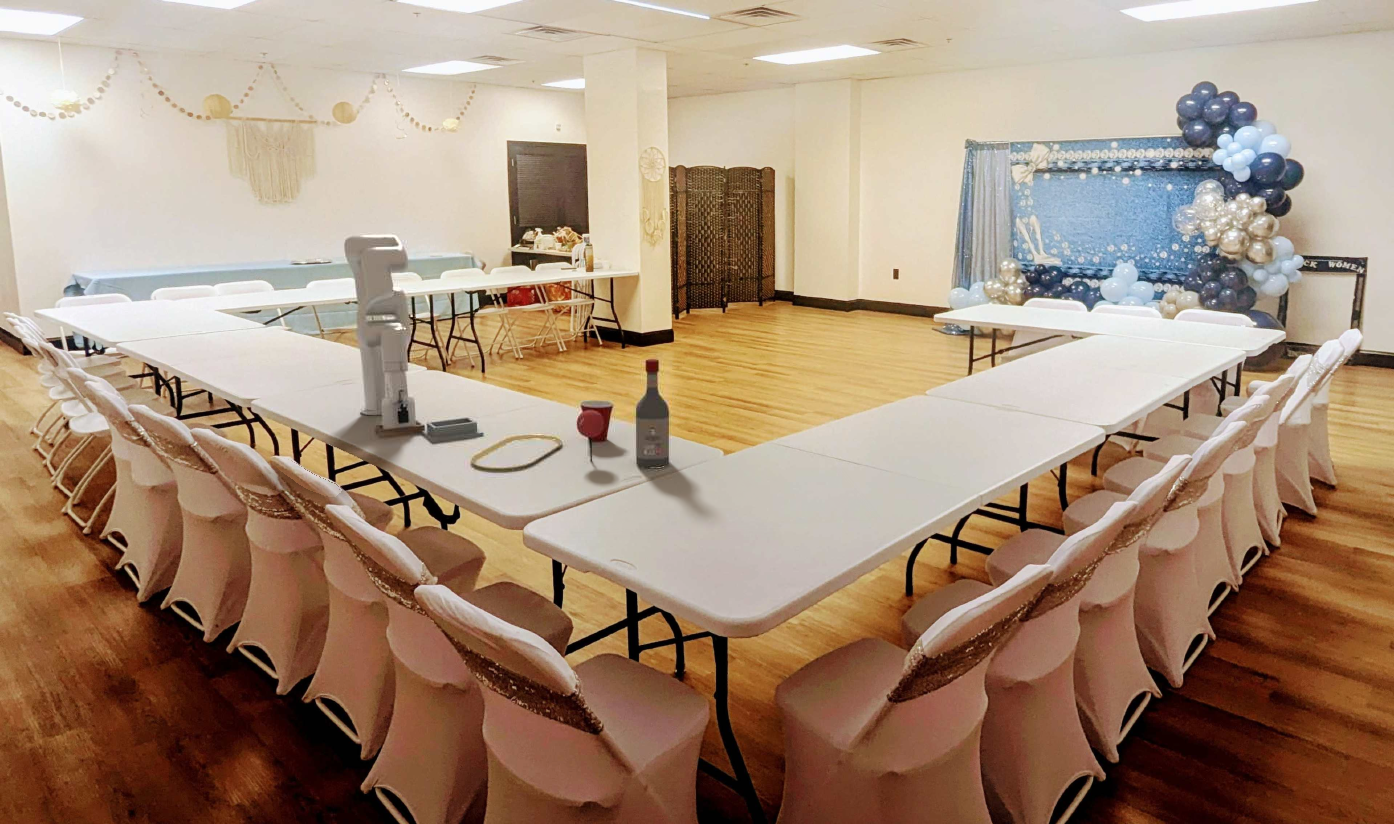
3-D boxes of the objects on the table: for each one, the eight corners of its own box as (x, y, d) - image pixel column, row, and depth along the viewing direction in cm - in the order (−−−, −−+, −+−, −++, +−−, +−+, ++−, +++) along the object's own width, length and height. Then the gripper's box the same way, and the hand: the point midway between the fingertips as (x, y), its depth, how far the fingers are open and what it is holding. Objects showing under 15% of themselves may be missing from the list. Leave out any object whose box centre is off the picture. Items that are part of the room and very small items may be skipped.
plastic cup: (620, 436, 286) (620, 399, 283) (606, 445, 276) (605, 407, 273) (589, 433, 289) (588, 396, 286) (574, 441, 279) (573, 404, 276)
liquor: (669, 468, 254) (669, 363, 247) (636, 468, 253) (635, 363, 246) (667, 458, 263) (667, 357, 255) (636, 459, 262) (635, 357, 255)
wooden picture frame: (375, 432, 287) (374, 425, 286) (418, 427, 294) (417, 419, 293) (381, 438, 281) (380, 430, 280) (425, 432, 288) (424, 425, 287)
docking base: (421, 433, 287) (420, 421, 286) (470, 427, 295) (470, 415, 294) (432, 442, 277) (432, 430, 276) (483, 435, 285) (482, 423, 284)
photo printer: (414, 429, 292) (411, 391, 289) (418, 432, 288) (415, 394, 285) (381, 433, 286) (378, 395, 283) (385, 436, 283) (382, 398, 280)
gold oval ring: (572, 442, 280) (572, 437, 280) (518, 475, 248) (518, 470, 247) (517, 437, 286) (517, 432, 285) (458, 469, 253) (458, 463, 253)
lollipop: (578, 457, 263) (576, 407, 259) (604, 457, 264) (603, 407, 260) (577, 465, 256) (575, 414, 252) (604, 465, 256) (603, 413, 253)
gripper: (376, 363, 287) (380, 415, 291) (390, 372, 273) (394, 427, 277) (400, 361, 291) (404, 412, 295) (415, 369, 277) (419, 423, 281)
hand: (399, 419), depth 286 cm, fingers open, 9 cm apart
